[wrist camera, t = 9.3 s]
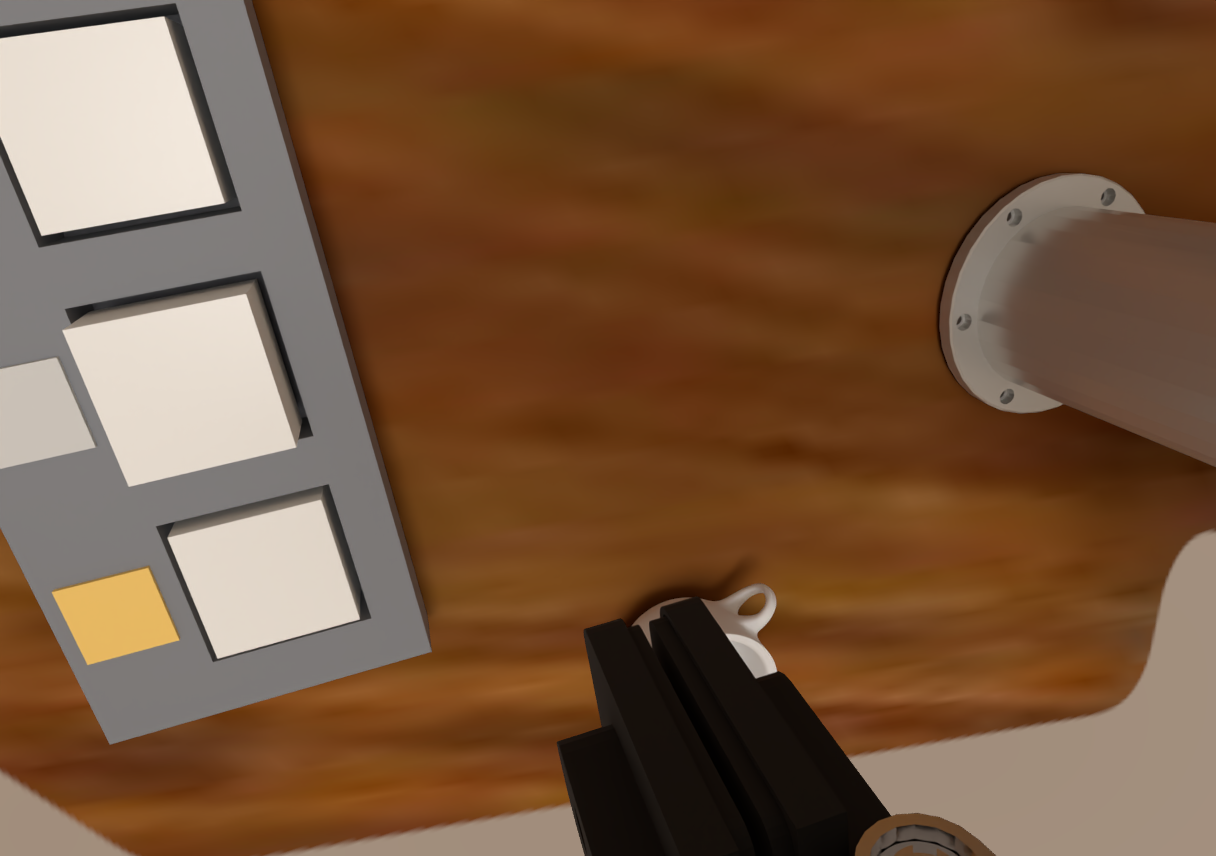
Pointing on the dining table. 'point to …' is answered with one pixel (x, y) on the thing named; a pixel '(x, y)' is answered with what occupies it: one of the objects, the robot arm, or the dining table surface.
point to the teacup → (734, 625)
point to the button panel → (144, 514)
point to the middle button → (187, 381)
